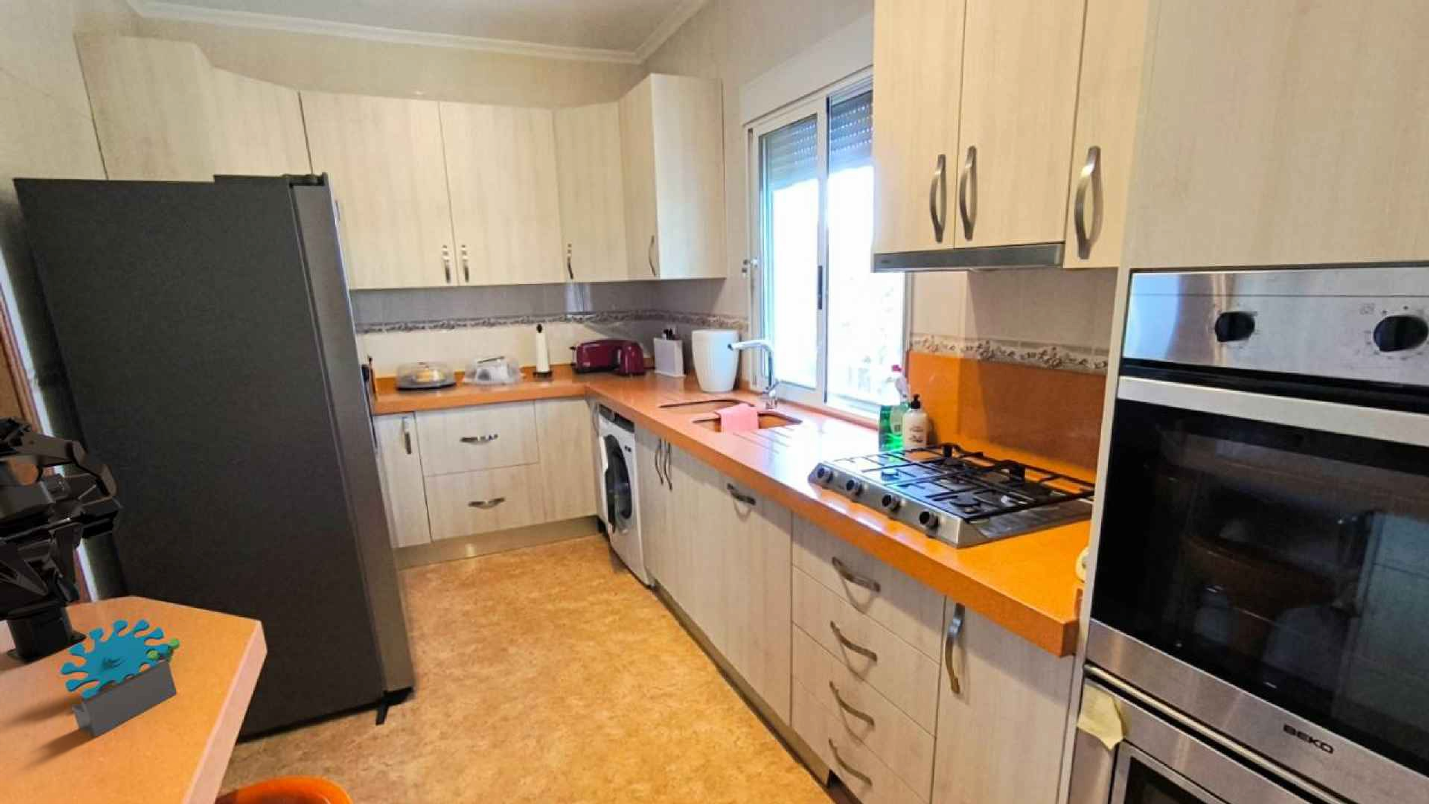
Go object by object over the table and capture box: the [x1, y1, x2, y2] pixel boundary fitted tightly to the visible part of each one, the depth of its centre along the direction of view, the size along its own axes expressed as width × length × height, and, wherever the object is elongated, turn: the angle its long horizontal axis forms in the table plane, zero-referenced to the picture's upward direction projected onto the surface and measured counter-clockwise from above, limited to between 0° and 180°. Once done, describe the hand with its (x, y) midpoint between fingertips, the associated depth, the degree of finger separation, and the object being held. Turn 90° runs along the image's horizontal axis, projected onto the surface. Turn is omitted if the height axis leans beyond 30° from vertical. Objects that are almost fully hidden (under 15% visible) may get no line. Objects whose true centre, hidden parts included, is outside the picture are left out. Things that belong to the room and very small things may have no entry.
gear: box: [59, 619, 181, 700], centre depth 80 cm, size 11×6×10 cm
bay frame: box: [71, 660, 178, 738], centre depth 73 cm, size 4×8×4 cm, turn 156°
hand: (60, 588), depth 79 cm, fingers open, 2 cm apart
